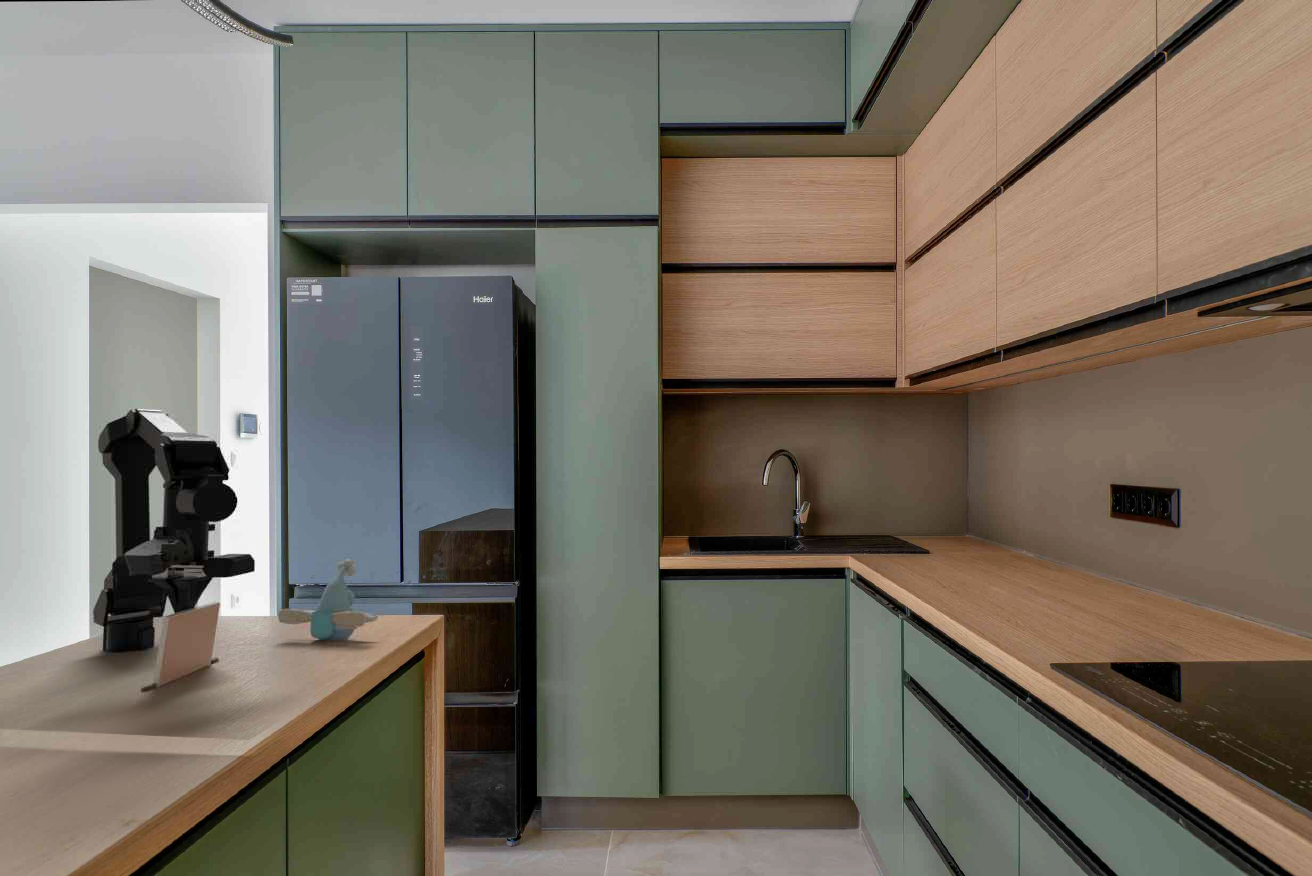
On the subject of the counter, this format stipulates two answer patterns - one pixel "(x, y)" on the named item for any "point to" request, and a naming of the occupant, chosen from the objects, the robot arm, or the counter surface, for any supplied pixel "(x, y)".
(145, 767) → the counter surface
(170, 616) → the tile
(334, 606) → the toy figure
